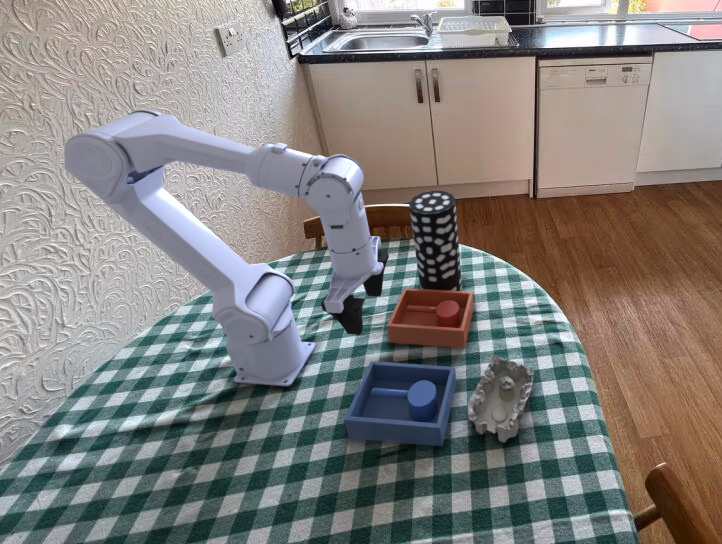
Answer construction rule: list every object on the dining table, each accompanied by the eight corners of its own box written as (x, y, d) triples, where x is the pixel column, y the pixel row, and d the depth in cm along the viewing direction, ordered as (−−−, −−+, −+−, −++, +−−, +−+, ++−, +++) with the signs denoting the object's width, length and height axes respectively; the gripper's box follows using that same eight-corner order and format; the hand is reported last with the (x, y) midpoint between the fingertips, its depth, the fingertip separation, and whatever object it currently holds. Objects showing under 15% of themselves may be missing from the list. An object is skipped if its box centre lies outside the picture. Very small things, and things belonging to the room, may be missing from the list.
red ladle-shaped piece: (405, 329, 74) (402, 314, 72) (411, 312, 77) (409, 297, 76) (457, 332, 73) (456, 317, 71) (461, 315, 76) (460, 300, 75)
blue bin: (348, 438, 57) (343, 420, 55) (374, 378, 65) (370, 360, 64) (442, 446, 56) (440, 428, 54) (456, 384, 64) (454, 366, 63)
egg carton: (512, 450, 56) (511, 431, 54) (463, 428, 58) (461, 409, 56) (538, 382, 64) (538, 364, 63) (494, 366, 67) (494, 348, 65)
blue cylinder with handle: (369, 418, 59) (365, 402, 58) (379, 392, 63) (376, 376, 61) (434, 424, 58) (431, 407, 57) (440, 397, 62) (438, 381, 60)
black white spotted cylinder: (428, 271, 88) (418, 189, 79) (466, 274, 87) (460, 191, 78) (414, 299, 81) (402, 212, 72) (456, 303, 79) (448, 215, 71)
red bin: (389, 343, 72) (386, 326, 70) (406, 303, 80) (404, 287, 78) (464, 348, 70) (463, 331, 69) (474, 307, 79) (473, 291, 77)
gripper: (354, 277, 51) (371, 353, 57) (394, 213, 65) (405, 281, 70) (300, 274, 52) (323, 350, 58) (350, 212, 65) (365, 279, 71)
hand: (365, 312), depth 64 cm, fingers open, 7 cm apart
